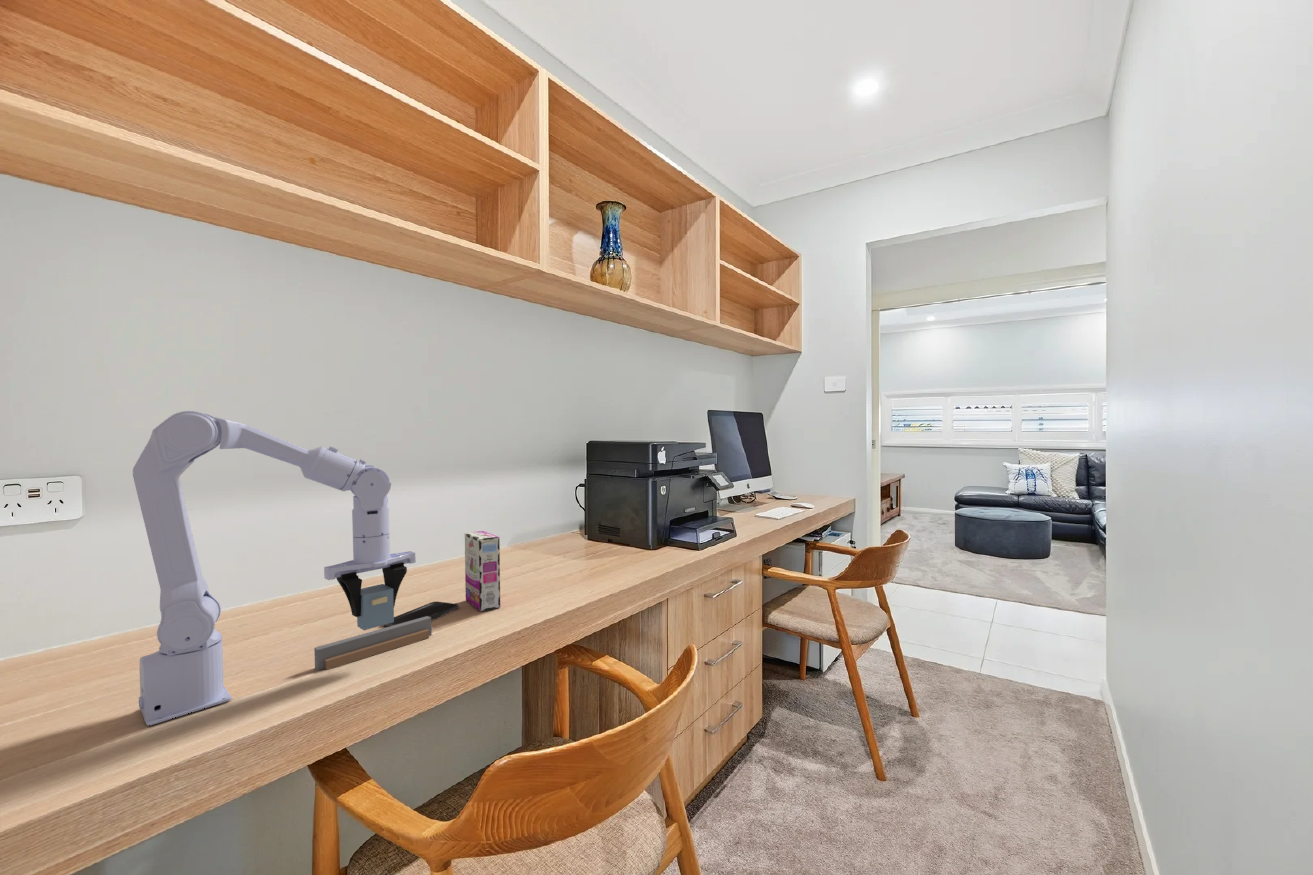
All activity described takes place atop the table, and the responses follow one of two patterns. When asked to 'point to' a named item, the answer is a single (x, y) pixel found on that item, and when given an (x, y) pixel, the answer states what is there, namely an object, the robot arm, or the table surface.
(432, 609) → the phone
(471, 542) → the candy bar box
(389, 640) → the grey and brown bar
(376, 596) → the cabinet
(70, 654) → the table surface
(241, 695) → the table surface
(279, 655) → the table surface
